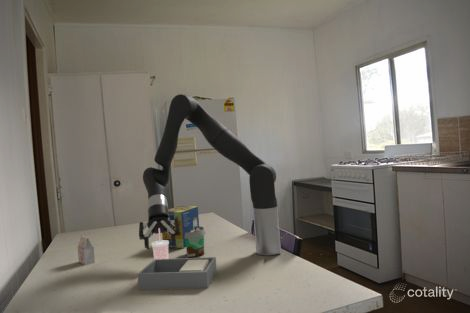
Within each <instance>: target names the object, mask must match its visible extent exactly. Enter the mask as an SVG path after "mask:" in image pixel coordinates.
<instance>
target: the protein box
mask: <svg viewBox="0 0 470 313" xmlns="http://www.w3.org/2000/svg"><path fill="white" fill-rule="evenodd" d="M168 213H169V220H170V221H171V220H174V219H175V218H177V219H178V224H179V229H180V235H176V236H175V245H174V246H172V243H171V236H170V235H169V234H167V233H166V232H164V233H161V235H162V240H168V241H169V244H168V249H185V248H186V240H185V233H189V231H190V230H193V229H194V226H200V222H199V221H200V219H199V206H197V205H196V206H193V205H191V206H190V205H189V206H188V205H185V206H184V205H180V206H175V207H172V208H168ZM170 227H171V229H172V230H173V231H176V229H175V226H173V225H172V224H171V225H170Z"/></svg>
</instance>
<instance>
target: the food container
mask: <svg viewBox="0 0 470 313" xmlns="http://www.w3.org/2000/svg"><path fill="white" fill-rule="evenodd" d="M206 233H207V232H206V229H205V227H203V226H201V225H199V226H194V229H193V230H190V231H189V233H185V240H186V247H185V248H186V256H187V257H186V258H201V257H202V256H204V255H205V236H206Z"/></svg>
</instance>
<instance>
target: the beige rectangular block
mask: <svg viewBox="0 0 470 313" xmlns="http://www.w3.org/2000/svg"><path fill="white" fill-rule="evenodd" d="M208 265H209V261H208V259H205V260H188V261H187V262H186V263H185V264H184V266H183V267H182V268H181V269H180V270H179V272H194V271H205V270H206V268H207V266H208Z"/></svg>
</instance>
